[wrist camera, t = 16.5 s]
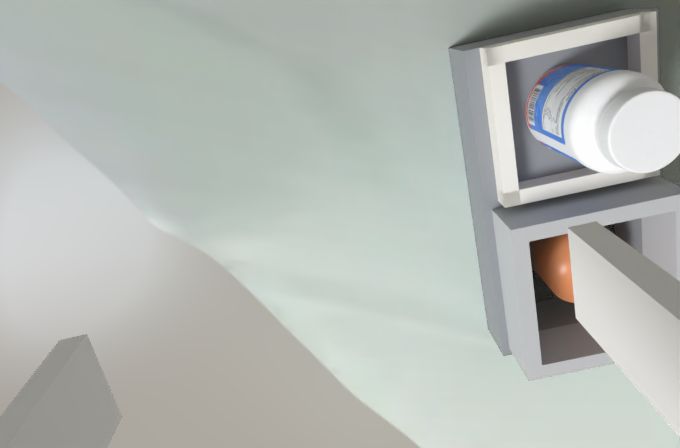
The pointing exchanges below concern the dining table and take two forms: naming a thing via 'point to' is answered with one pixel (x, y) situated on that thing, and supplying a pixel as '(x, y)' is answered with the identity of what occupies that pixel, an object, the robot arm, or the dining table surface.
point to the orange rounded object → (553, 264)
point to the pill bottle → (605, 118)
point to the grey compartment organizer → (551, 181)
